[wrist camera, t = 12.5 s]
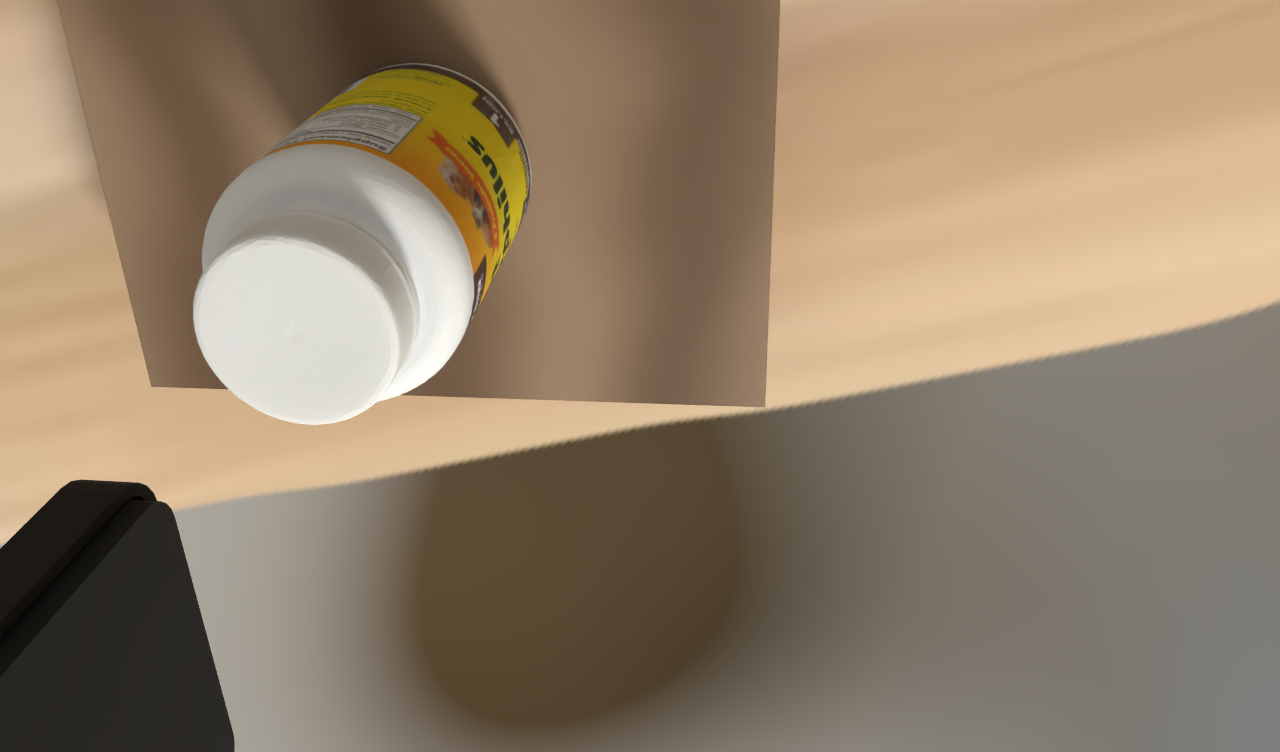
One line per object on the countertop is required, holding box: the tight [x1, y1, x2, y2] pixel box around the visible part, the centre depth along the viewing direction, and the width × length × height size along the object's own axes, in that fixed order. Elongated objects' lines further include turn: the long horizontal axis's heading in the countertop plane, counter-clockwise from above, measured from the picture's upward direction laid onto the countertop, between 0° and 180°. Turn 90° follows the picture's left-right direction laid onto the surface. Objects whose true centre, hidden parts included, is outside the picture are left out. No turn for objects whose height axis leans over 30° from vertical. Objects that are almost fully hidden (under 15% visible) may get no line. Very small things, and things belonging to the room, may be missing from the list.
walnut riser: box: [57, 0, 780, 407], centre depth 33 cm, size 18×14×5 cm
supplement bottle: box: [193, 63, 531, 425], centre depth 27 cm, size 6×6×10 cm
